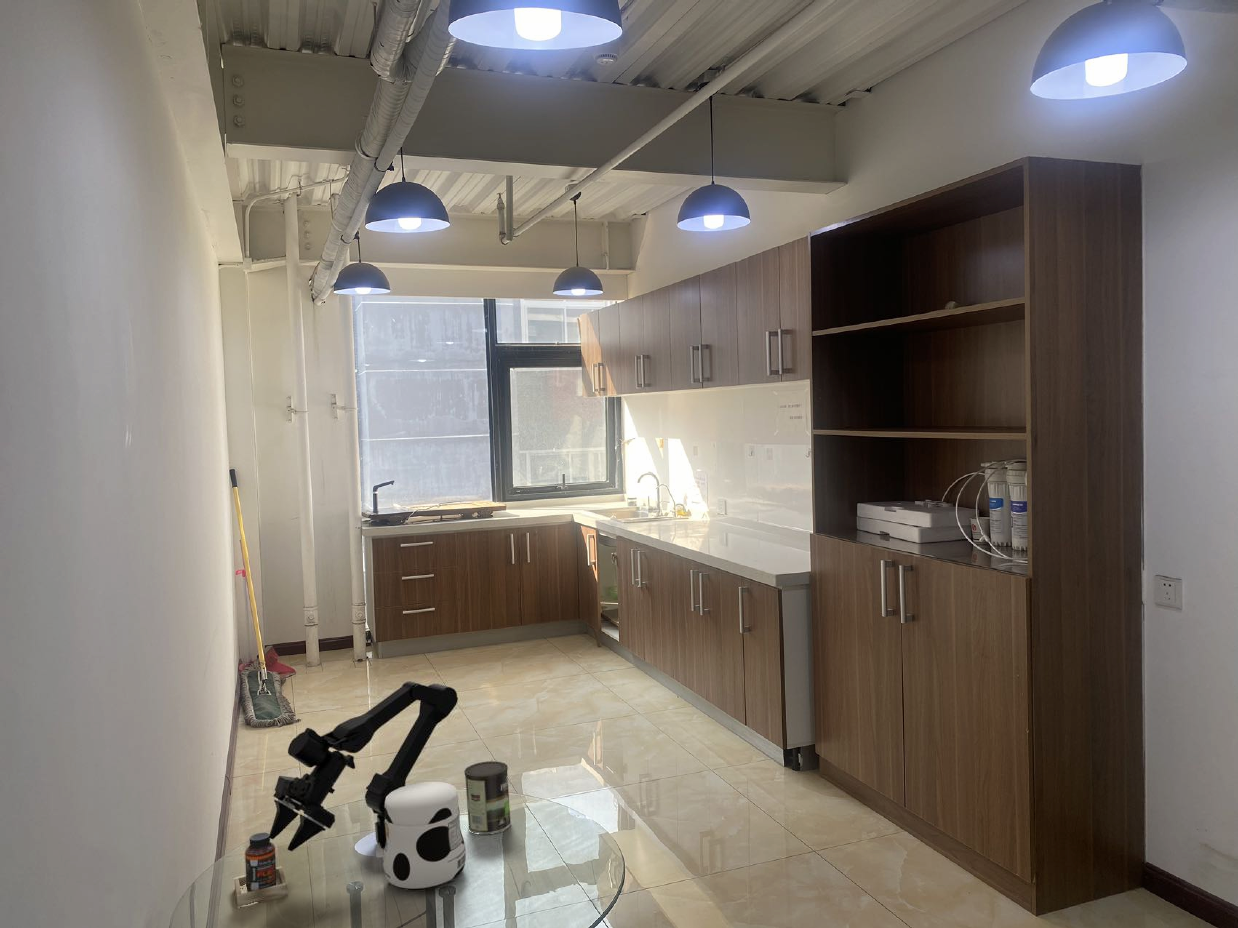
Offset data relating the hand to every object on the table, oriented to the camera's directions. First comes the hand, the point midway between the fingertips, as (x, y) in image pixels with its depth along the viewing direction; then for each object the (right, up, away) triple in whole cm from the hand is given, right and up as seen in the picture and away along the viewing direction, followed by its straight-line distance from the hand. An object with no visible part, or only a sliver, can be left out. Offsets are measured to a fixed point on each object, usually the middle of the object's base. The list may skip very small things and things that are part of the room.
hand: (279, 844), depth 198 cm
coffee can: (+42, -6, +24) cm, 48 cm away
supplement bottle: (-3, -8, -3) cm, 9 cm away
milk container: (+32, -7, -1) cm, 32 cm away
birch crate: (-3, -9, -3) cm, 10 cm away
